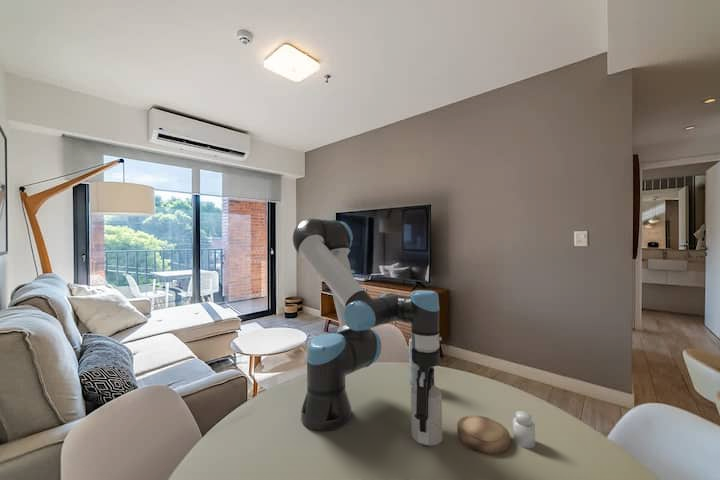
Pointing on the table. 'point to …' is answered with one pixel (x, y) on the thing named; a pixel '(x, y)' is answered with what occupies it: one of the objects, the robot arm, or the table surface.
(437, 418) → the white cylindrical piece
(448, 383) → the table surface
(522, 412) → the white knobbed rounded part
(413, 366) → the bottle
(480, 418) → the brown wooden plate
